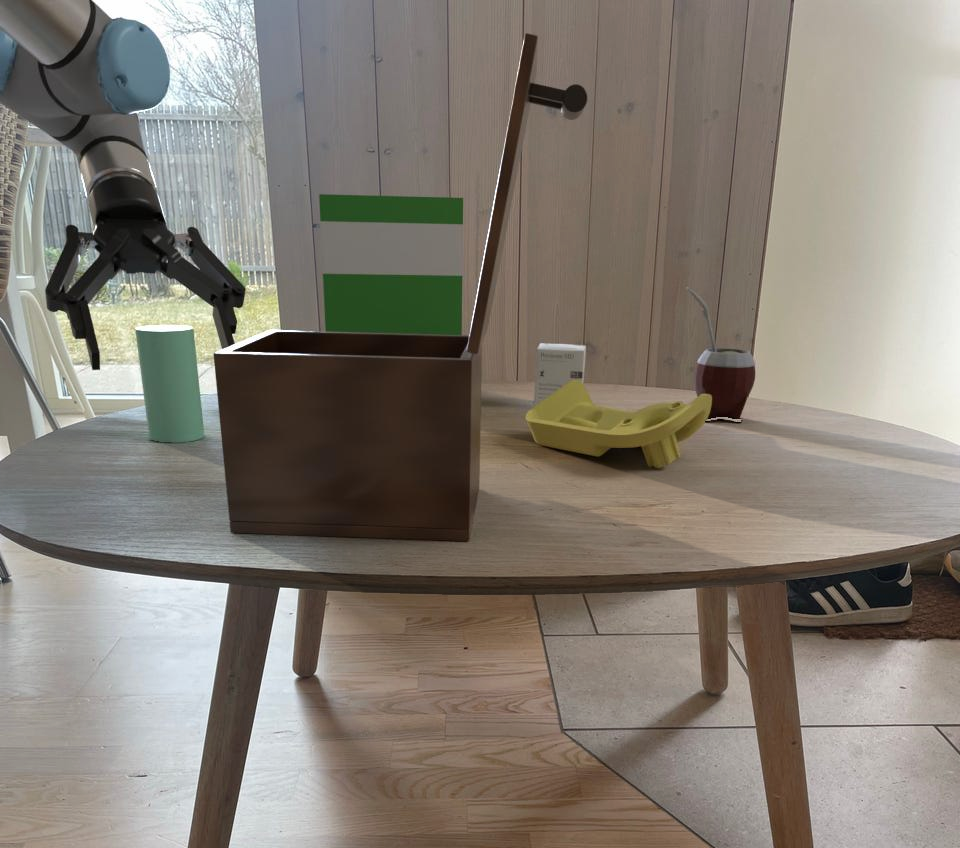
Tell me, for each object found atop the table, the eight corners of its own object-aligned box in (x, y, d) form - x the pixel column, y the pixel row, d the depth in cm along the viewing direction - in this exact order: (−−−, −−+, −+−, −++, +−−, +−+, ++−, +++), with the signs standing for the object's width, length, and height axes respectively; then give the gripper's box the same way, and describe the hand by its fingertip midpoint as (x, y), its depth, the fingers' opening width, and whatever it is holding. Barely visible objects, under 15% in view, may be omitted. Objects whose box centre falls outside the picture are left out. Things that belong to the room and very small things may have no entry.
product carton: (533, 408, 116) (535, 347, 113) (536, 400, 122) (539, 342, 119) (581, 410, 116) (585, 349, 113) (582, 402, 121) (586, 343, 118)
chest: (230, 533, 69) (212, 353, 63) (279, 481, 82) (268, 329, 77) (469, 541, 68) (472, 360, 63) (479, 488, 81) (482, 335, 76)
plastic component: (516, 419, 97) (583, 370, 101) (540, 478, 101) (604, 430, 105) (646, 441, 82) (720, 383, 85) (668, 509, 86) (739, 452, 89)
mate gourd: (759, 420, 113) (779, 288, 106) (722, 427, 108) (740, 290, 102) (708, 410, 118) (724, 284, 111) (670, 417, 113) (684, 286, 107)
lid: (525, 32, 55) (600, 49, 55) (526, 69, 68) (586, 83, 68) (466, 352, 62) (532, 366, 63) (477, 328, 76) (532, 340, 76)
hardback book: (328, 395, 122) (319, 194, 112) (330, 386, 129) (321, 195, 119) (461, 395, 124) (463, 197, 114) (456, 386, 131) (457, 198, 121)
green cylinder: (140, 442, 95) (126, 330, 91) (160, 430, 100) (147, 324, 96) (194, 443, 95) (182, 331, 90) (211, 432, 100) (200, 325, 96)
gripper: (233, 227, 110) (277, 374, 105) (2, 223, 100) (37, 387, 94) (240, 176, 104) (288, 330, 98) (-6, 167, 93) (31, 339, 87)
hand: (165, 358), depth 96 cm, fingers open, 13 cm apart
